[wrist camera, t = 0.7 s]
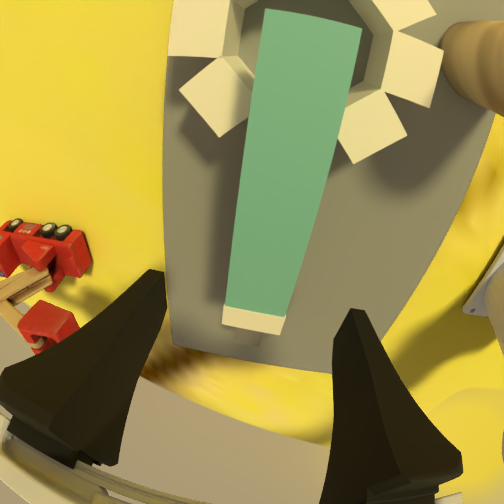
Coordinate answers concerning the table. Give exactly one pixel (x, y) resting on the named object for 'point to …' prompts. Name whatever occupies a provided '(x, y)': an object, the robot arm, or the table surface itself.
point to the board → (339, 177)
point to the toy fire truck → (39, 278)
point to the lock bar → (286, 160)
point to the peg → (476, 62)
